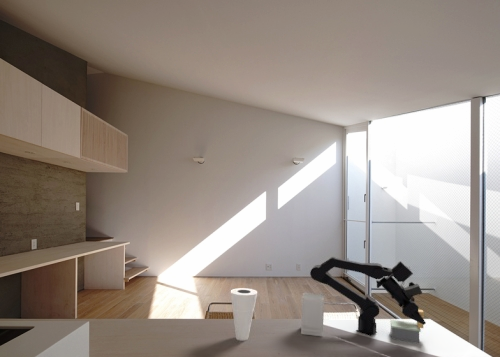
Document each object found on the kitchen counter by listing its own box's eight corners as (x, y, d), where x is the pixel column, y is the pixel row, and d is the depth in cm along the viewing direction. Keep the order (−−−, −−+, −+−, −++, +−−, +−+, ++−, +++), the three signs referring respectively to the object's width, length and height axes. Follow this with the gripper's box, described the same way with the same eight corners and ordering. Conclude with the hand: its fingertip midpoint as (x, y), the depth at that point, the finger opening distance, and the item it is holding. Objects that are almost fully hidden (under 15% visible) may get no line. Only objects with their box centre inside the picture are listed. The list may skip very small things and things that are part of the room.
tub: (391, 339, 142) (392, 327, 143) (390, 333, 150) (390, 321, 150) (419, 344, 139) (419, 331, 139) (416, 336, 147) (416, 324, 147)
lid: (391, 329, 142) (391, 309, 143) (390, 323, 150) (390, 304, 151) (424, 334, 139) (424, 314, 139) (421, 327, 147) (421, 308, 147)
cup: (259, 336, 140) (261, 290, 141) (248, 346, 131) (250, 296, 132) (236, 331, 145) (238, 286, 146) (223, 340, 135) (225, 292, 136)
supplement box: (323, 337, 142) (324, 299, 143) (300, 334, 144) (301, 297, 145) (322, 329, 151) (324, 293, 152) (301, 326, 153) (303, 291, 154)
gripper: (412, 281, 137) (443, 314, 132) (406, 272, 154) (434, 301, 150) (390, 299, 139) (420, 332, 135) (387, 288, 156) (414, 317, 152)
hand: (423, 320), depth 143 cm, fingers open, 9 cm apart
